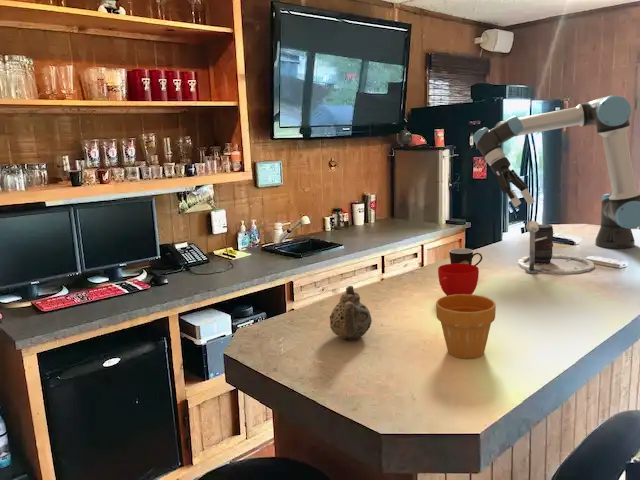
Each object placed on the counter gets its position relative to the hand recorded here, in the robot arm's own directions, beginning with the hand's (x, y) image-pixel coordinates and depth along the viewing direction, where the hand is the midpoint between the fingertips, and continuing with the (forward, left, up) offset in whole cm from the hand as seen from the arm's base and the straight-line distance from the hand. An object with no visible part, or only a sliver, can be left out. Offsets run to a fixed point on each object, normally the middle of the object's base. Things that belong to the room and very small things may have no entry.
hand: (525, 204), depth 214 cm
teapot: (+76, +75, -23) cm, 110 cm away
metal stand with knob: (+2, +18, -23) cm, 29 cm away
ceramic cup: (+40, +46, -23) cm, 66 cm away
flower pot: (+48, +88, -23) cm, 103 cm away
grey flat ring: (-8, +11, -23) cm, 27 cm away
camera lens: (-4, +6, -23) cm, 24 cm away
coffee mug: (+30, +21, -23) cm, 44 cm away
